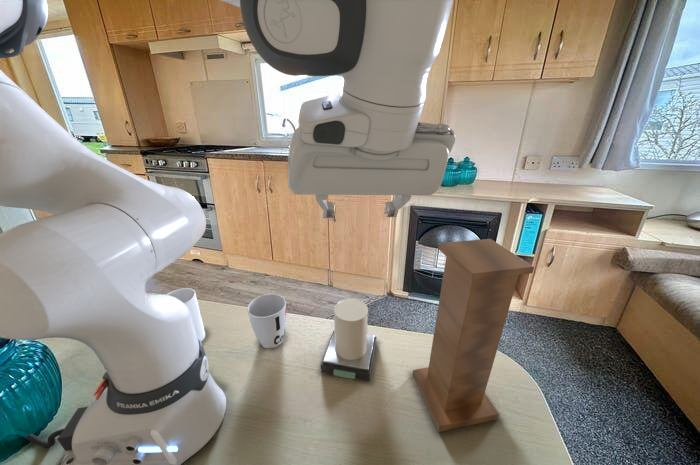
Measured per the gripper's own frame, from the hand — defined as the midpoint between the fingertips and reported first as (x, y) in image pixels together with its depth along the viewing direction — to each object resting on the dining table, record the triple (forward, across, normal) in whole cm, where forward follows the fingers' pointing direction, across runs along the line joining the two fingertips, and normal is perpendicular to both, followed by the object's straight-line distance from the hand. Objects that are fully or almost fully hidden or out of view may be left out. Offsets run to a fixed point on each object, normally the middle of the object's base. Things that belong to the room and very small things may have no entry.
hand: (359, 215), depth 40 cm
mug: (+41, +33, -4) cm, 53 cm away
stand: (+30, -19, +18) cm, 39 cm away
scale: (+35, -2, +6) cm, 35 cm away
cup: (+39, +14, -2) cm, 42 cm away
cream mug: (+33, -2, +4) cm, 33 cm away
